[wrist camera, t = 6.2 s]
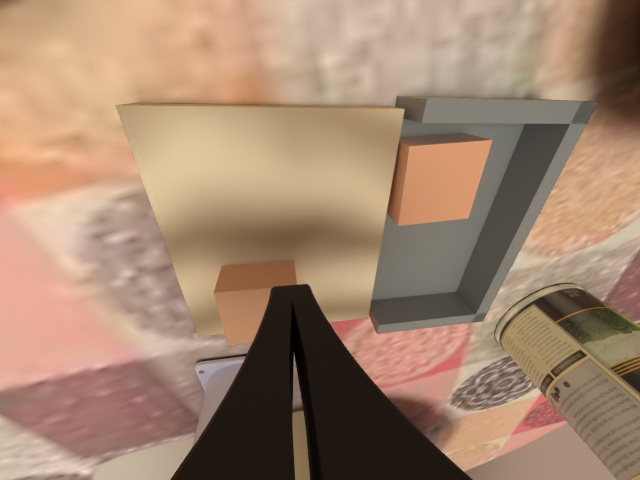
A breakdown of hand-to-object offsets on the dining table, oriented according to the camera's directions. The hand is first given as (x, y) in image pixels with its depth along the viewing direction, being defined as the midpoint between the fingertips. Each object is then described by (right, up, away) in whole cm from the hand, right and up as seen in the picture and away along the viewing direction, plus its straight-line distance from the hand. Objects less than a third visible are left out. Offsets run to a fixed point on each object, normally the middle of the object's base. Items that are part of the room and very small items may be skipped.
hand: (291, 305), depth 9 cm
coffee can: (+25, -6, +18) cm, 32 cm away
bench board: (-2, +3, +8) cm, 8 cm away
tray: (+10, +4, +9) cm, 14 cm away
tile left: (-3, -1, +8) cm, 8 cm away
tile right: (+7, +7, +6) cm, 12 cm away
